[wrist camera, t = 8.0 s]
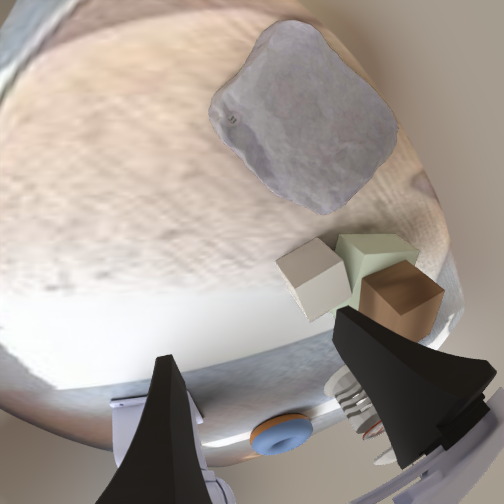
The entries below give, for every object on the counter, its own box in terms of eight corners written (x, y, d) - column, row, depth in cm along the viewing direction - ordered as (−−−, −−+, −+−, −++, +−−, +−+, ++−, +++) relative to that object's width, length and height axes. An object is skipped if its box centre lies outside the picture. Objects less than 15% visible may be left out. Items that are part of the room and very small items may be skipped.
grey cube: (290, 293, 24) (309, 322, 21) (274, 260, 22) (294, 288, 19) (328, 271, 25) (352, 296, 21) (317, 236, 22) (343, 260, 19)
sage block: (320, 299, 26) (340, 326, 23) (337, 232, 23) (364, 254, 20) (373, 291, 28) (395, 312, 25) (392, 232, 25) (419, 250, 22)
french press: (310, 397, 35) (389, 538, 14) (362, 340, 32) (474, 491, 11) (352, 395, 40) (424, 508, 18) (398, 345, 36) (491, 461, 15)
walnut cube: (356, 321, 23) (387, 359, 19) (361, 277, 21) (400, 316, 17) (397, 302, 24) (429, 333, 20) (405, 259, 22) (445, 290, 17)
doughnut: (318, 405, 37) (327, 430, 33) (295, 432, 42) (301, 453, 38) (256, 411, 34) (263, 438, 30) (241, 437, 39) (245, 460, 35)
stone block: (307, 206, 23) (384, 121, 19) (327, 237, 19) (420, 137, 15) (186, 121, 18) (276, 17, 14) (179, 135, 14) (295, 2, 10)
